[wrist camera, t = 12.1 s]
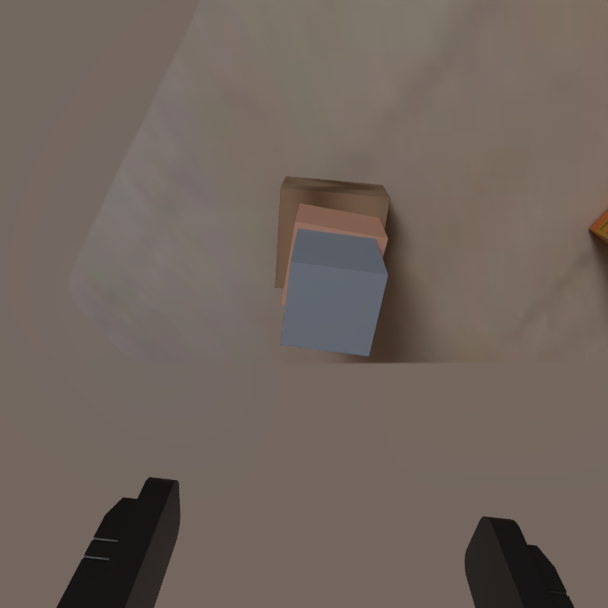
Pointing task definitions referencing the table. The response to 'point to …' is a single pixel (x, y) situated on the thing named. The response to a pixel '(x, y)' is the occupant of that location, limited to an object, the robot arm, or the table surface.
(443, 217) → the table surface
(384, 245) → the top block
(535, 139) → the table surface
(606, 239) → the supplement box
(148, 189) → the table surface
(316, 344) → the slate block
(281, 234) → the base block
